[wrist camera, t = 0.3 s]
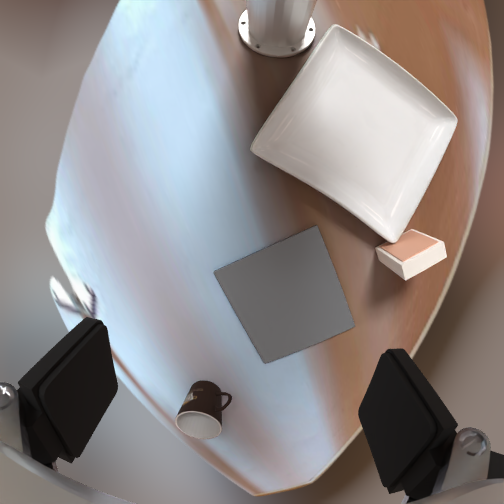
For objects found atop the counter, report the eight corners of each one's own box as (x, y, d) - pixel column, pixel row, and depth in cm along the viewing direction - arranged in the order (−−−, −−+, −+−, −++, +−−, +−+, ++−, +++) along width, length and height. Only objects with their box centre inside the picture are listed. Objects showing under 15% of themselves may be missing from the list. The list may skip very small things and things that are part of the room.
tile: (374, 246, 44) (401, 264, 35) (411, 227, 43) (443, 240, 34) (379, 260, 45) (405, 280, 35) (415, 241, 44) (446, 256, 34)
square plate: (328, 30, 35) (334, 20, 31) (449, 121, 38) (460, 119, 34) (248, 152, 41) (247, 149, 38) (386, 242, 44) (396, 247, 41)
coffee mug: (195, 407, 54) (186, 440, 45) (179, 379, 52) (167, 412, 42) (245, 400, 53) (243, 435, 43) (233, 371, 51) (228, 406, 41)
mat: (214, 271, 46) (213, 272, 45) (316, 224, 44) (317, 225, 43) (264, 361, 50) (264, 363, 50) (354, 324, 48) (355, 326, 47)
